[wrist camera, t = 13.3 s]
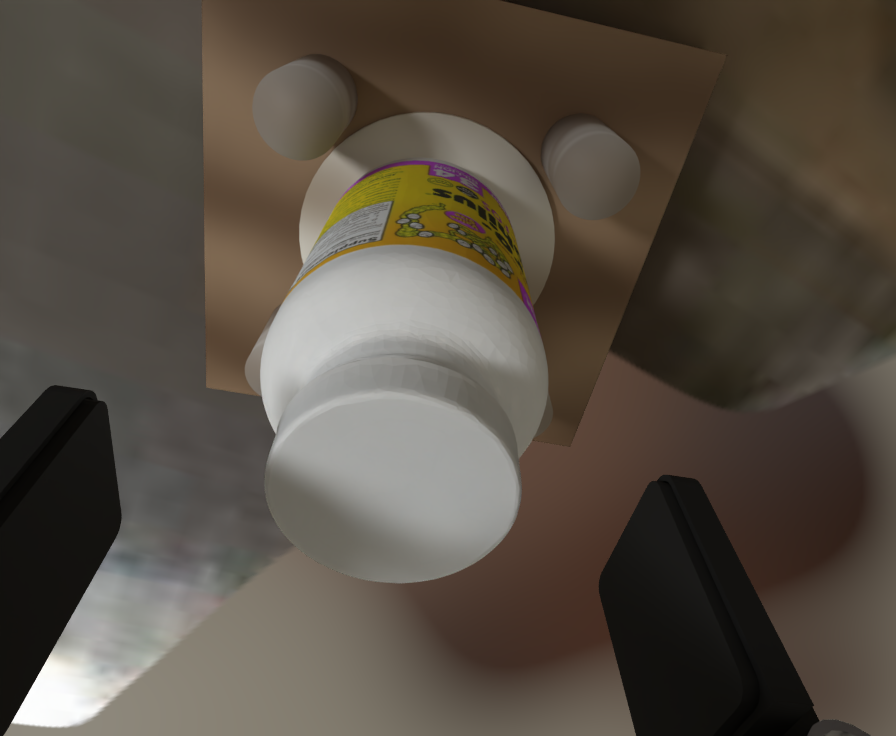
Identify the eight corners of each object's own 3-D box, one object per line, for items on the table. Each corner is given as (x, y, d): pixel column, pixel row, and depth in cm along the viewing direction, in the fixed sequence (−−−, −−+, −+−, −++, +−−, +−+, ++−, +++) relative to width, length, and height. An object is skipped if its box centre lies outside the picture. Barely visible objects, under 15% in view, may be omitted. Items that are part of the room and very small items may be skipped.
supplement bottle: (545, 274, 22) (637, 545, 11) (397, 355, 24) (356, 654, 13) (451, 109, 19) (454, 265, 8) (290, 216, 21) (123, 456, 10)
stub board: (223, -67, 19) (148, -85, 14) (704, 49, 20) (779, 68, 16) (221, 362, 27) (174, 439, 22) (562, 419, 29) (585, 503, 24)
